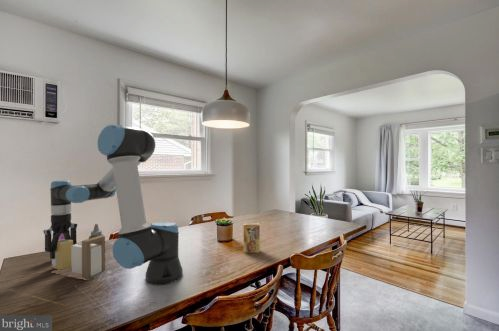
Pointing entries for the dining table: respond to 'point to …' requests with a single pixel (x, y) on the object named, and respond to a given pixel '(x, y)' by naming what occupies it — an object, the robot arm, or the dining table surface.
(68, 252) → the stub
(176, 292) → the dining table surface
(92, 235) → the squeeze bottle
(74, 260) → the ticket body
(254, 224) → the candy box
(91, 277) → the mat
